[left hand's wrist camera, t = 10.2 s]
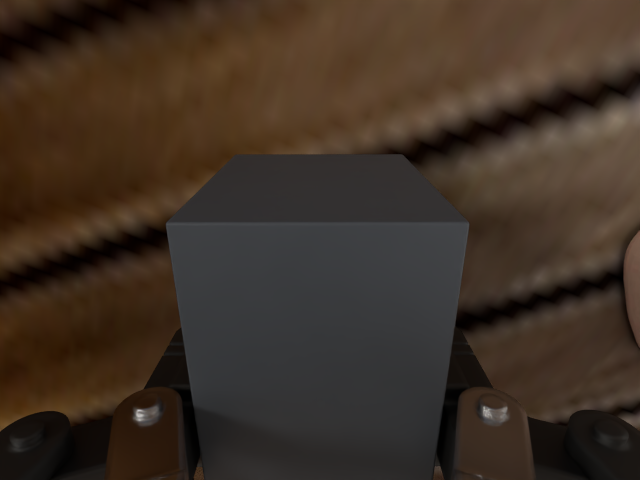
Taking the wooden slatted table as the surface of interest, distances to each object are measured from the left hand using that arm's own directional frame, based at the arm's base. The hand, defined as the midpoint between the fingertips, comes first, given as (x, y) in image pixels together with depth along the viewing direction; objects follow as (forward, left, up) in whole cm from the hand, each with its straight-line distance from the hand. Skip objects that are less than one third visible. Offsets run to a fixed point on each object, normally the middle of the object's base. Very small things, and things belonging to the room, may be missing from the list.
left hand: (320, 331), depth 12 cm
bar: (+29, -6, -2) cm, 29 cm away
